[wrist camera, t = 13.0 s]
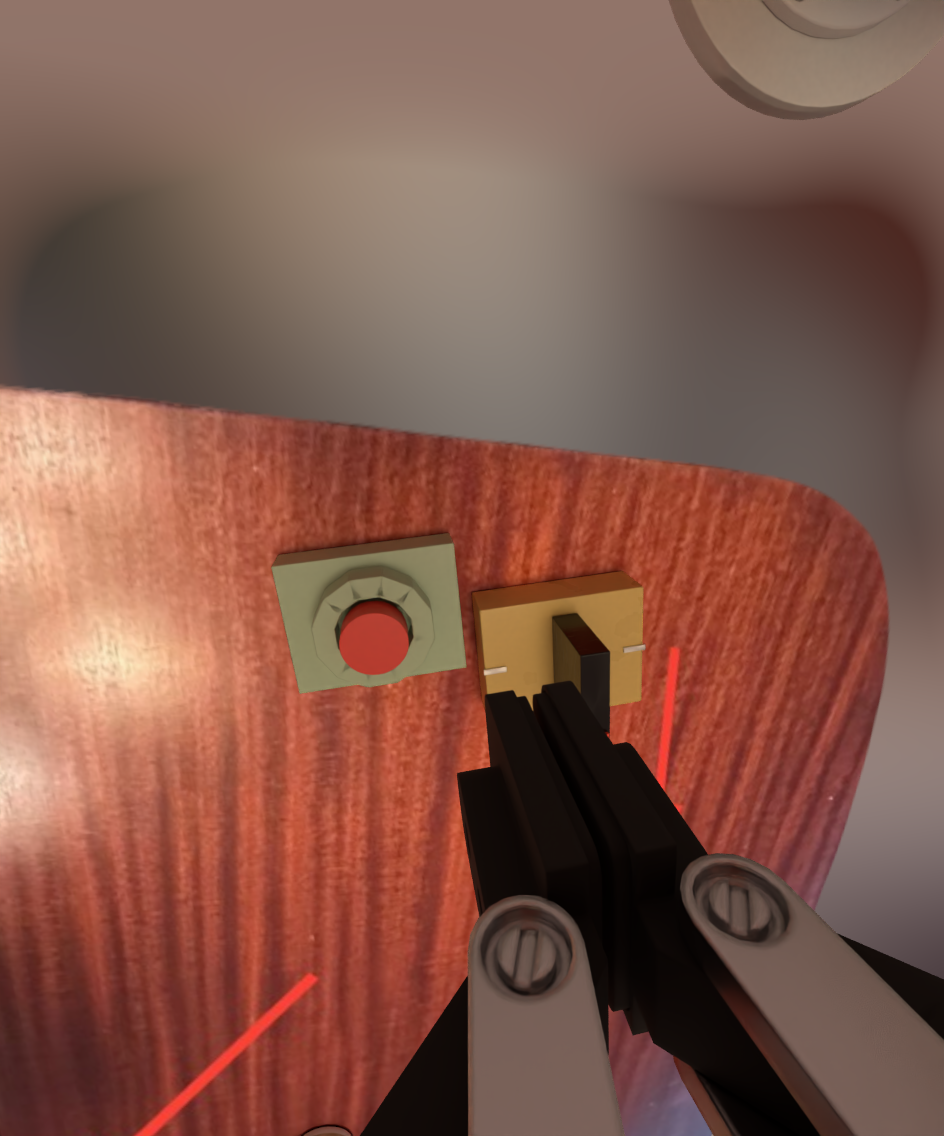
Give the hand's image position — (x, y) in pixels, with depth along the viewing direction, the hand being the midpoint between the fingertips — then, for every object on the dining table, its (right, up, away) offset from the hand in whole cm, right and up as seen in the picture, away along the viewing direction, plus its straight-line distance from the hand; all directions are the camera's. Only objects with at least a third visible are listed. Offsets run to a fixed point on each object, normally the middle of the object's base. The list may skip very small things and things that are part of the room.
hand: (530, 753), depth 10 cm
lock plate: (+4, -1, +26) cm, 26 cm away
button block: (-7, +1, +23) cm, 24 cm away
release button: (-6, 0, +20) cm, 21 cm away
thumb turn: (+5, -2, +23) cm, 23 cm away
